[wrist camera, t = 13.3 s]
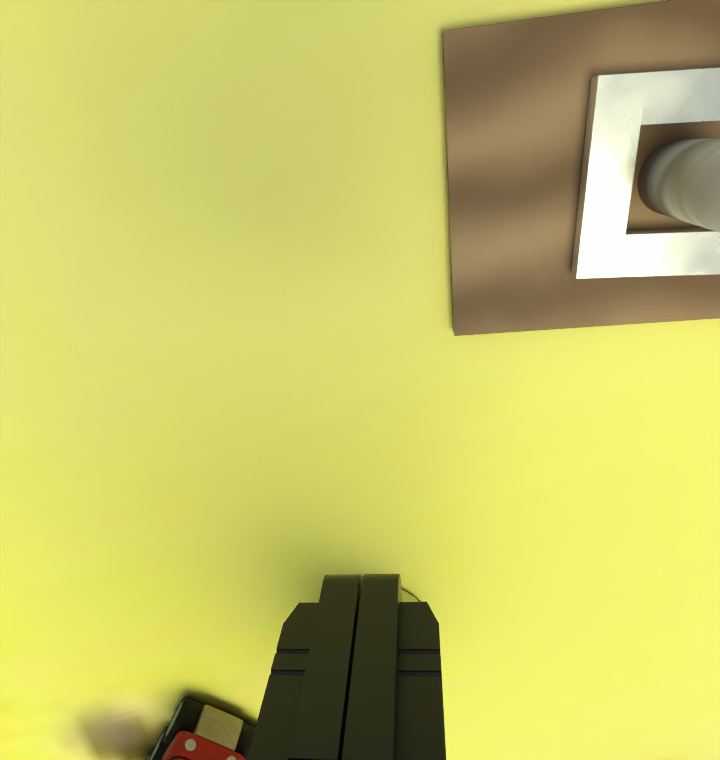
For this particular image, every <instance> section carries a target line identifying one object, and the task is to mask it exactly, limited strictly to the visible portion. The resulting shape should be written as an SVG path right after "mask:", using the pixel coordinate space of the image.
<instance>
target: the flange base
mask: <svg viewBox="0 0 720 760" xmlns="http://www.w3.org/2000/svg"><path fill="white" fill-rule="evenodd" d="M443 57H444V85H445V112H446V140H447V168H448V196H449V224H450V252H451V279H452V307H453V331H454V336H459V335H474V334H489V333H504V332H519V331H534V330H549V329H564V328H579V327H594V326H609V325H624V324H639V323H654V322H669V321H684V320H699V319H714V318H720V274H710V275H676V276H642V277H608V278H575V277H574V276H573V275H572V274H571V270H572V260H573V251H574V241H575V231H576V222H577V212H578V203H579V193H580V183H581V174H582V164H583V155H584V145H585V136H586V126H587V116H588V107H589V97H590V88H591V78H593V77H596V76H599V75H614V74H629V73H645V72H660V71H675V70H690V69H705V68H720V0H671V1H663V2H656V3H648V4H641V5H633V6H626V7H618V8H611V9H604V10H596V11H589V12H581V13H574V14H566V15H559V16H551V17H544V18H536V19H529V20H522V21H514V22H507V23H499V24H492V25H484V26H477V27H469V28H462V29H454V30H447V31H444V32H443ZM697 228H707V229H710V230H713V231H716V232H720V120H719V121H701V122H683V123H666V124H648V125H641V127H640V134H639V141H638V148H637V155H636V163H635V170H634V177H633V184H632V191H631V198H630V205H629V212H628V219H627V227H626V231H643V230H670V229H697Z"/></svg>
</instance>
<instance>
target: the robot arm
mask: <svg viewBox="0 0 720 760" xmlns="http://www.w3.org/2000/svg"><path fill="white" fill-rule="evenodd" d="M247 760H446V748H445V729H444V710H443V692H442V673H441V655H440V638H439V623H438V621H437V620H436V618H435V616H434V614H433V612H432V611H431V609H430V607H429V605H428V603H427V602H419V601H418V600H417V599H416V598H415V597H414V596H412V595H411V594H409V593H407V592H406V591H404V590H401V579H400V574H364V575H363V577H362V575H326V576H325V577H324V580H323V585H322V590H321V595H320V600H319V603H299V604H298V605H297V606H296V608H295V609H294V610H293V612H292V613H291V614H290V616H289V617H288V618H287V620H286V621H285V622H284V624H283V627H282V630H281V634H280V638H279V642H278V645H277V653H276V654H275V657H274V661H273V664H272V668H271V675H270V676H269V679H268V683H267V687H266V691H265V694H264V698H263V702H262V706H261V709H260V713H259V717H258V721H257V724H256V728H255V732H254V736H253V739H252V743H251V747H250V751H249V754H248V757H247Z"/></svg>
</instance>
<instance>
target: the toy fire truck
mask: <svg viewBox="0 0 720 760" xmlns="http://www.w3.org/2000/svg"><path fill="white" fill-rule="evenodd" d="M255 728H256V727H254V726H252V725H250V724H247V723H245V722H243V720H242V719H240V718H237V717H235V716H233V715H230V714H228V713H226V712H223V711H221V710H219V709H216V708H214V707H212V706H210V705H204V706H203V704H201V703H199V702H197V701H194V700H192V699H190V698H188V697H184V698H183V699H182V701H181V702H180V704H179V706H178V707H177V709H176V711H175V713H174V715H173V717H172V720H171V722H170V724H169V726H168V728H167V727H166V728H165V729H164V730H163V732H162V734H161V736H160V738H159V740H158V742H157V744H156V745H155V747H154V749H152V750H151V751H150V752H149V754H148V756H147V758H146V760H247V757H248V754H249V751H250V747H251V743H252V739H253V736H254V732H255Z"/></svg>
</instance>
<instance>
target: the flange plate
mask: <svg viewBox="0 0 720 760" xmlns="http://www.w3.org/2000/svg"><path fill="white" fill-rule="evenodd" d="M719 120H720V68H705V69H690V70H675V71H660V72H645V73H629V74H614V75H599V76H596V77H593V78H591V88H590V97H589V107H588V116H587V126H586V136H585V145H584V155H583V164H582V174H581V183H580V193H579V203H578V212H577V222H576V231H575V241H574V251H573V260H572V270H571V274H572V275H573V276H574V277H575V278H608V277H642V276H676V275H710V274H720V232H716V231H713V230H710V229H707V228H697V229H670V230H643V231H626V227H627V219H628V212H629V205H630V198H631V191H632V184H633V177H634V170H635V163H636V155H637V148H638V141H639V134H640V127H641V125H648V124H666V123H683V122H701V121H719Z"/></svg>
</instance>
